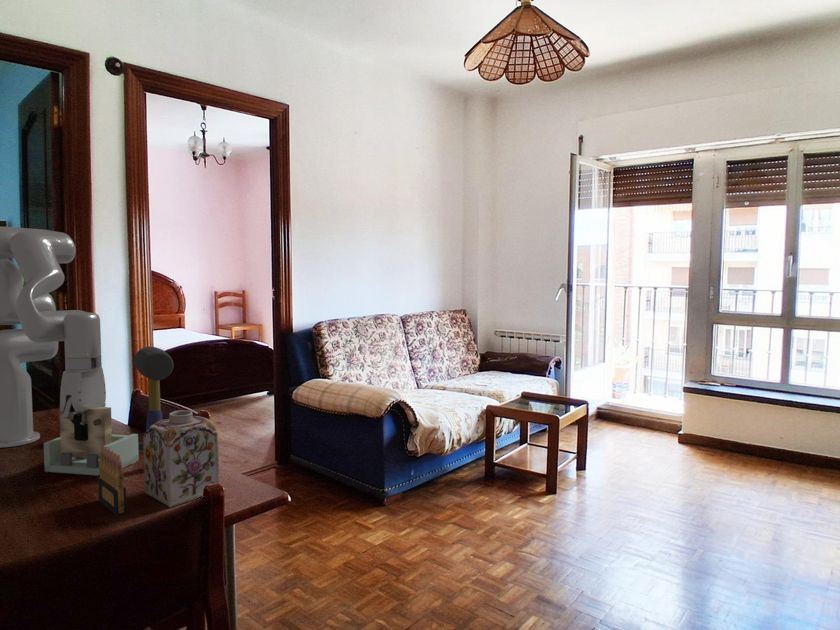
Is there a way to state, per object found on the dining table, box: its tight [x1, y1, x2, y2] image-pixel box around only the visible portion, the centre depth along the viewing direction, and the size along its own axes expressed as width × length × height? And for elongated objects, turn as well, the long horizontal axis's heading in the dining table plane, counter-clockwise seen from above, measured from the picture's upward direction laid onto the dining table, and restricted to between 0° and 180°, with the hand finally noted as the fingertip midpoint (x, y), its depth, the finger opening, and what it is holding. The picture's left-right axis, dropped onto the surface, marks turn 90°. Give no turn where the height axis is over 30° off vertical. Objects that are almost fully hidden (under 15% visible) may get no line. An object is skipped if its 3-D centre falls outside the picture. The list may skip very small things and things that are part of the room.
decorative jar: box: [142, 409, 220, 508], centre depth 121 cm, size 12×12×18 cm
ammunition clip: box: [97, 445, 128, 516], centre depth 114 cm, size 11×2×12 cm, turn 47°
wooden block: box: [58, 406, 113, 458], centre depth 135 cm, size 12×3×12 cm, turn 81°
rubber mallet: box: [133, 346, 174, 432], centre depth 136 cm, size 12×8×30 cm, turn 37°
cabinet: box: [43, 433, 140, 476], centre depth 138 cm, size 17×11×7 cm, turn 81°
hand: (86, 437), depth 135 cm, fingers closed on wooden block, 2 cm apart
